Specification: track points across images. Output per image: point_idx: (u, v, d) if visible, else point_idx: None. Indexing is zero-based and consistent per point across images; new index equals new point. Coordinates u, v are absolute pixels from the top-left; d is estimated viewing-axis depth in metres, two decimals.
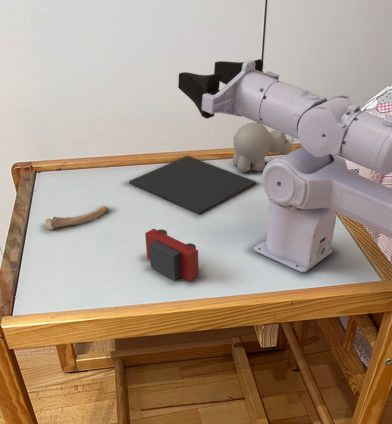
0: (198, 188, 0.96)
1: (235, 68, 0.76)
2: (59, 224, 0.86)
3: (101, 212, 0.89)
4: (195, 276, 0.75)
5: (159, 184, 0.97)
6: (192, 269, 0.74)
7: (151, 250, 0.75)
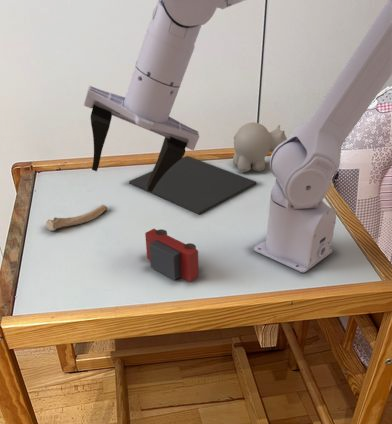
0: (198, 188, 0.96)
1: (103, 144, 0.66)
2: (61, 225, 0.85)
3: (100, 211, 0.89)
4: (195, 276, 0.75)
5: (159, 184, 0.97)
6: (192, 269, 0.74)
7: (151, 250, 0.75)
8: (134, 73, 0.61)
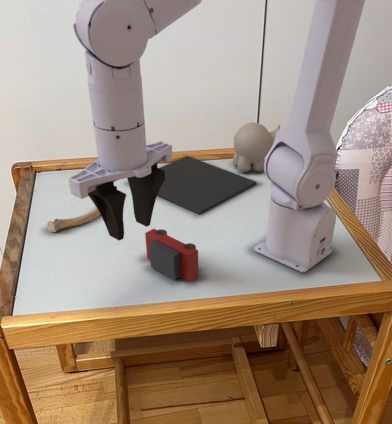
0: (198, 188, 0.96)
1: None
2: (62, 226, 0.85)
3: None
4: (195, 276, 0.75)
5: None
6: (192, 269, 0.74)
7: (151, 250, 0.75)
8: (105, 136, 0.57)
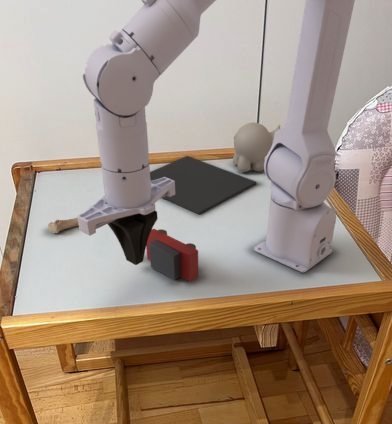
0: (198, 188, 0.96)
1: None
2: (63, 227, 0.85)
3: None
4: (195, 276, 0.75)
5: None
6: (192, 269, 0.74)
7: (151, 250, 0.75)
8: (112, 177, 0.60)
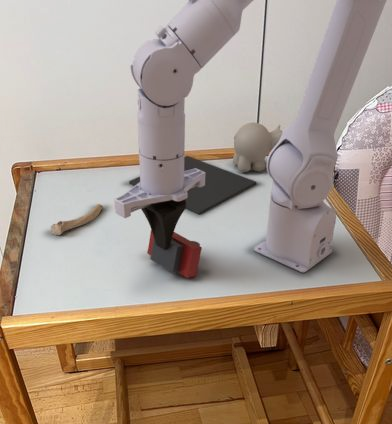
0: (198, 188, 0.96)
1: None
2: (67, 228, 0.85)
3: (98, 210, 0.90)
4: (193, 274, 0.75)
5: None
6: (192, 265, 0.74)
7: None
8: (150, 164, 0.64)
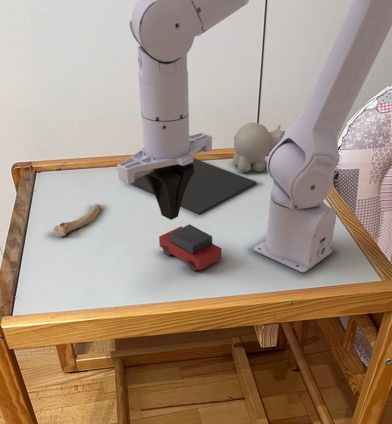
0: (198, 188, 0.96)
1: None
2: (70, 229, 0.85)
3: (97, 210, 0.90)
4: (201, 265, 0.76)
5: None
6: (208, 258, 0.76)
7: (186, 227, 0.79)
8: (152, 126, 0.61)
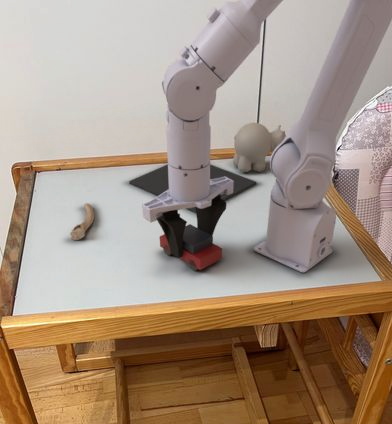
0: None
1: None
2: (85, 229, 0.84)
3: (92, 209, 0.90)
4: (202, 265, 0.76)
5: (159, 184, 0.97)
6: (209, 258, 0.76)
7: (187, 227, 0.79)
8: (176, 173, 0.69)
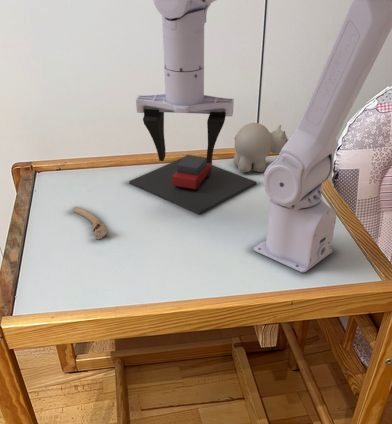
0: None
1: (160, 137, 0.81)
2: None
3: None
4: (174, 182, 0.95)
5: (159, 184, 0.97)
6: (181, 180, 0.94)
7: (201, 157, 0.96)
8: None
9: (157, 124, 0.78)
